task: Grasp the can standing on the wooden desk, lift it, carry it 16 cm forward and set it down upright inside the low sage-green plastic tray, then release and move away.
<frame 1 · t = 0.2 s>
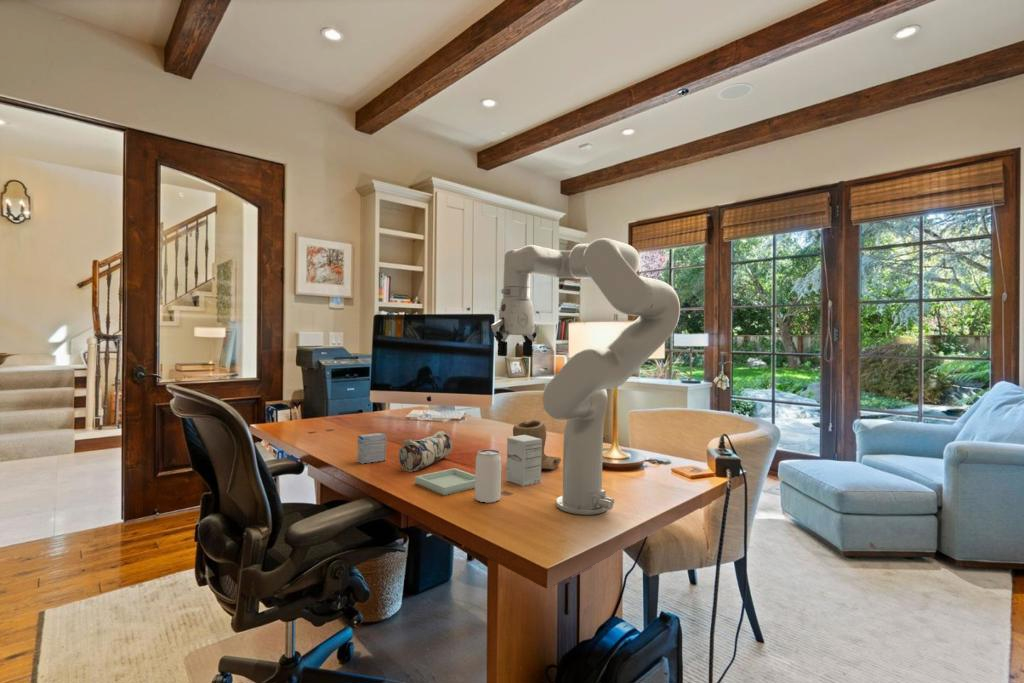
hand: (515, 355, 136), 36 cm above the table, tool pointing down, fingers open, 9 cm apart
medicine box: (371, 462, 158), on the table
supplement box: (523, 482, 139), on the table
tray: (449, 484, 134), on the table
brown boot: (534, 469, 154), on the table
can: (487, 500, 123), on the table
pencil case: (426, 464, 157), on the table
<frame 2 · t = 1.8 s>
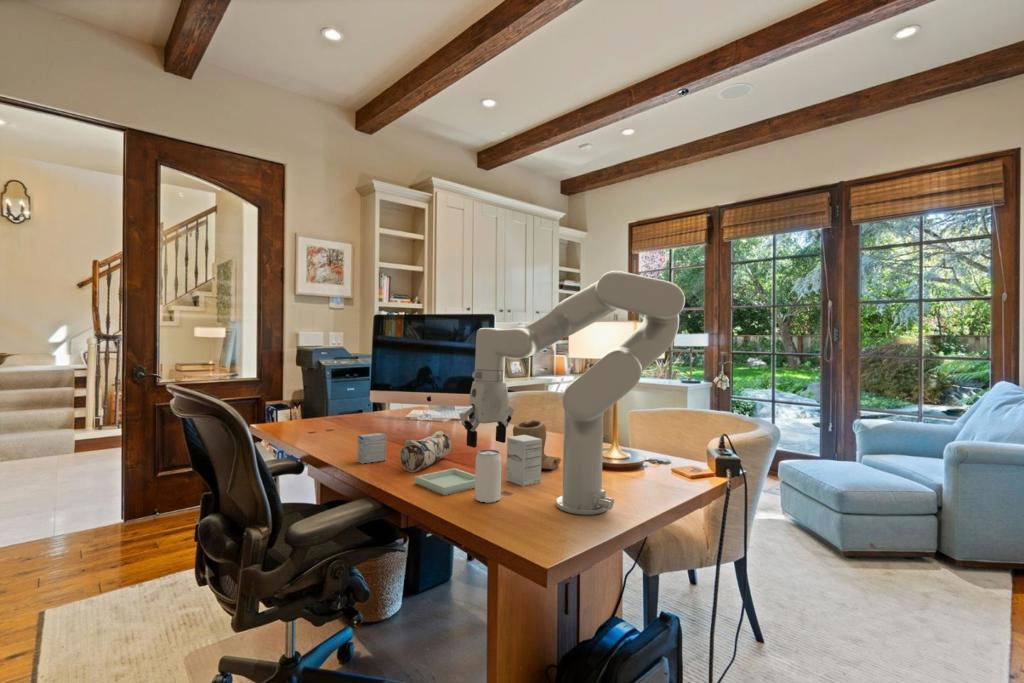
hand: (486, 444, 123), 14 cm above the table, tool pointing down, fingers open, 9 cm apart
nothing on the table moved.
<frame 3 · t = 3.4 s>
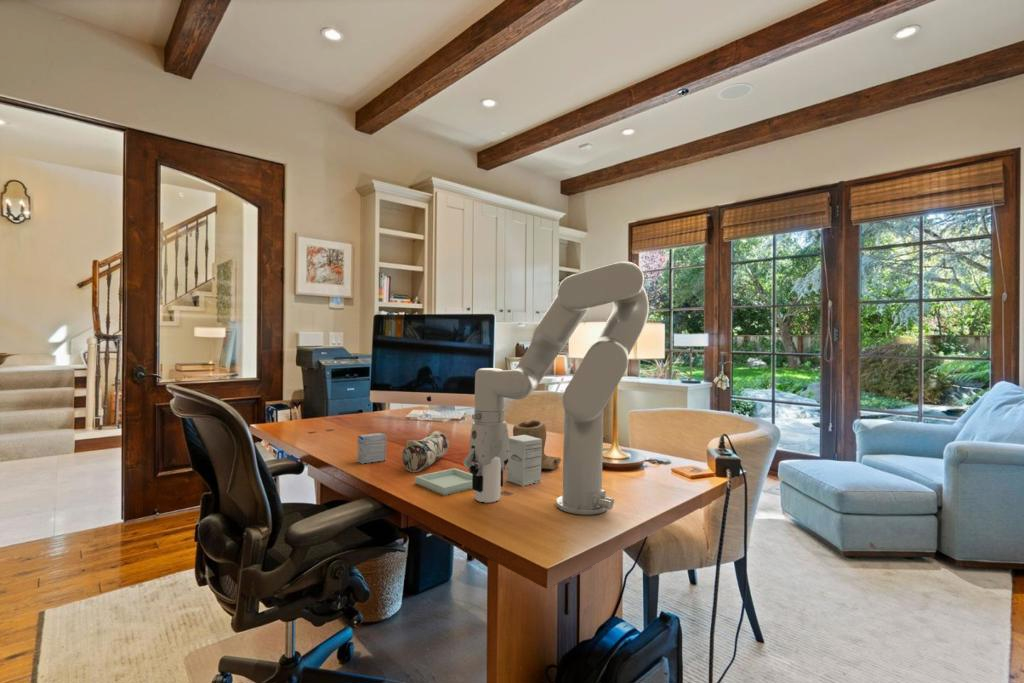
hand: (487, 487, 123), 3 cm above the table, tool pointing down, fingers closed on can, 6 cm apart
can: (487, 500, 123), on the table, touching gripper
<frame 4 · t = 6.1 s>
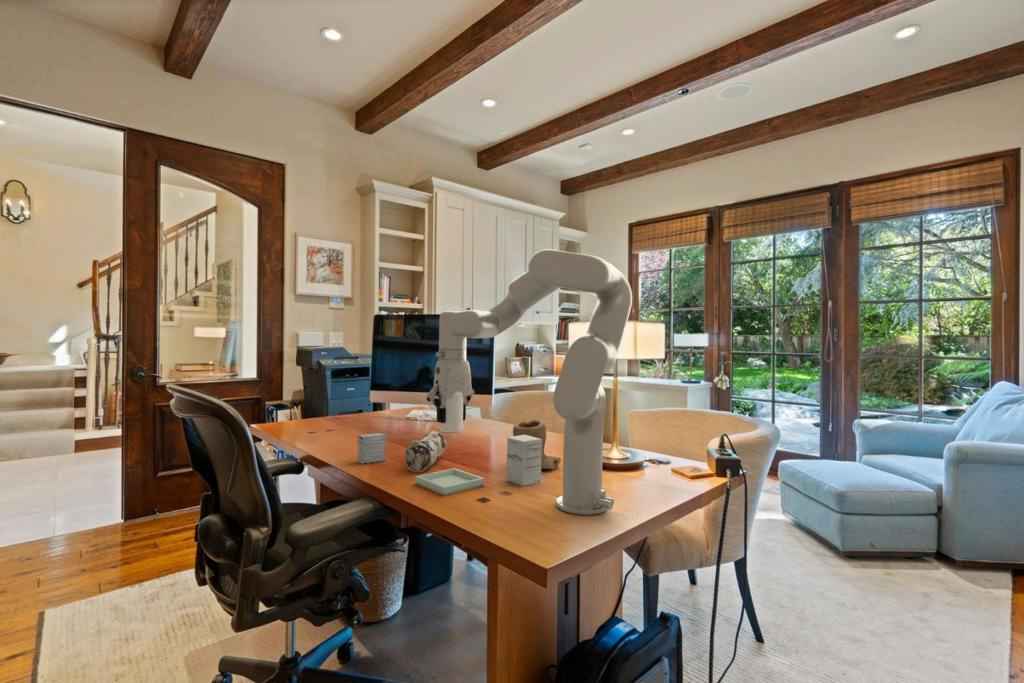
hand: (451, 420, 134), 18 cm above the table, tool pointing down, fingers closed on can, 6 cm apart
can: (450, 431, 134), point 15 cm above the table, touching gripper
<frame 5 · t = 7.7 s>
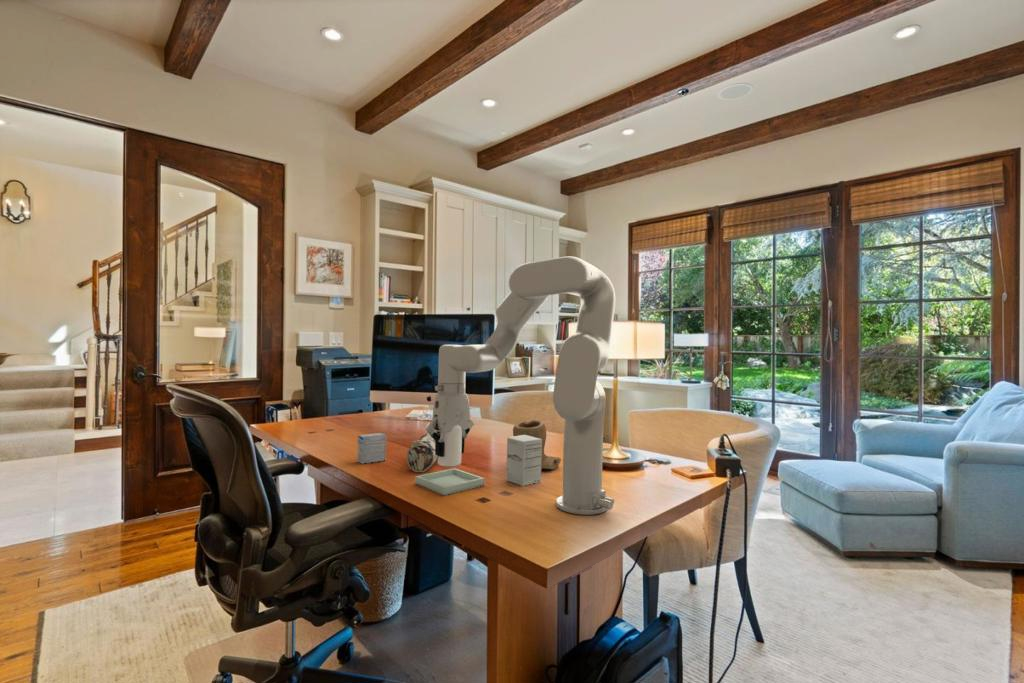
hand: (449, 453, 134), 9 cm above the table, tool pointing down, fingers closed on can, 6 cm apart
can: (449, 464, 134), point 6 cm above the table, touching gripper
when the fingers open (5 cm above the table, at t = 8.9 s): can drops 1 cm, resting on tray.
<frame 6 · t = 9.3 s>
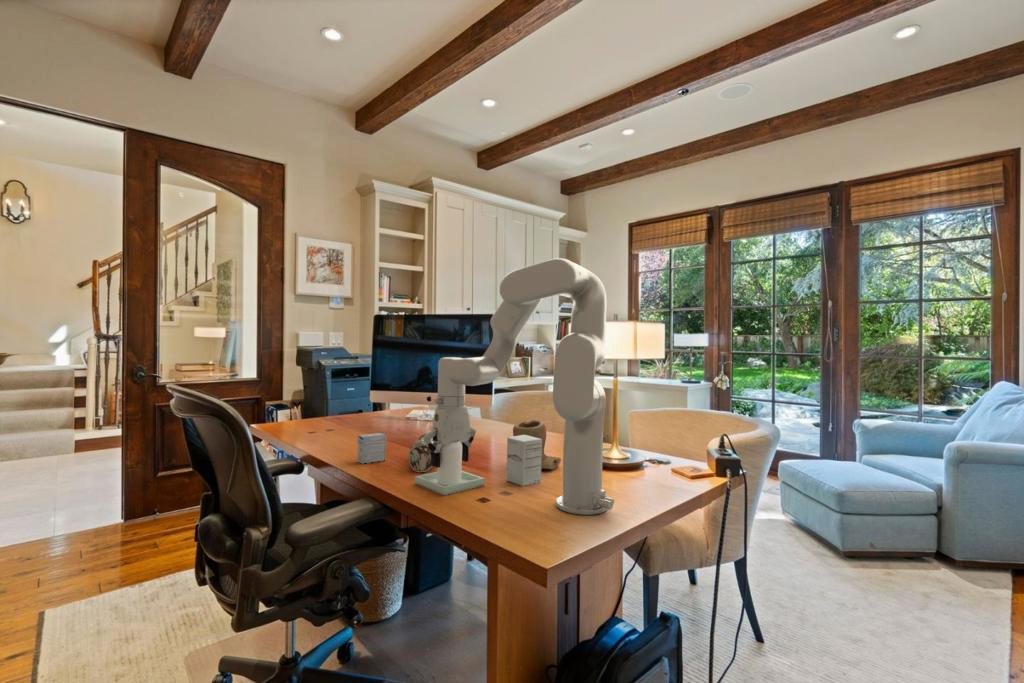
hand: (450, 463, 134), 6 cm above the table, tool pointing down, fingers open, 9 cm apart
can: (449, 483, 134), resting on tray
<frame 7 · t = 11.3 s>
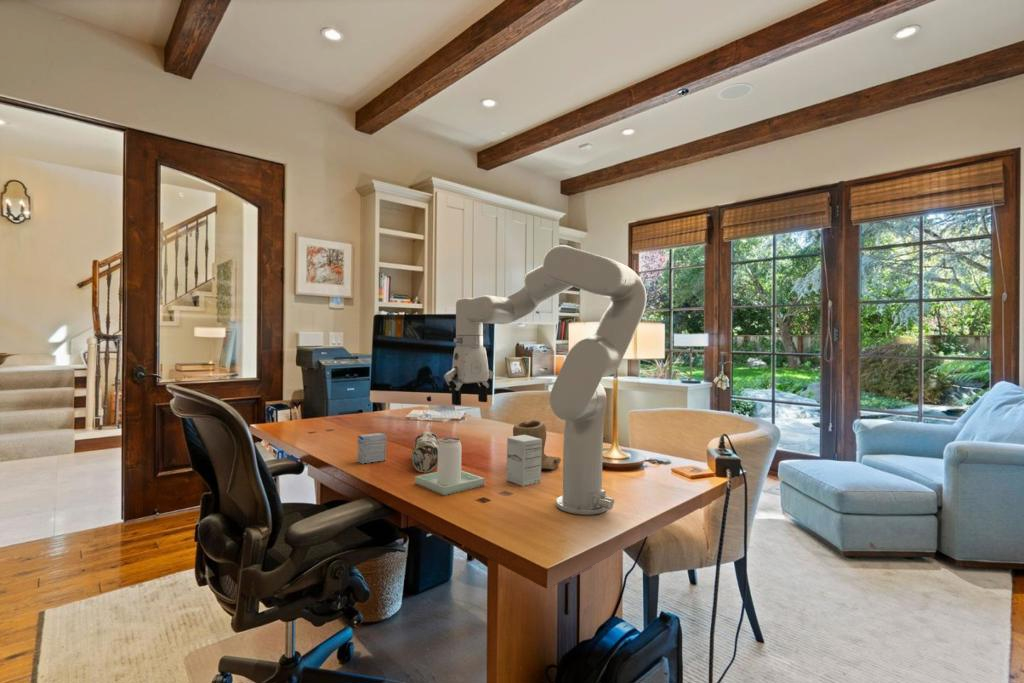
hand: (470, 403, 136), 22 cm above the table, tool pointing down, fingers open, 9 cm apart
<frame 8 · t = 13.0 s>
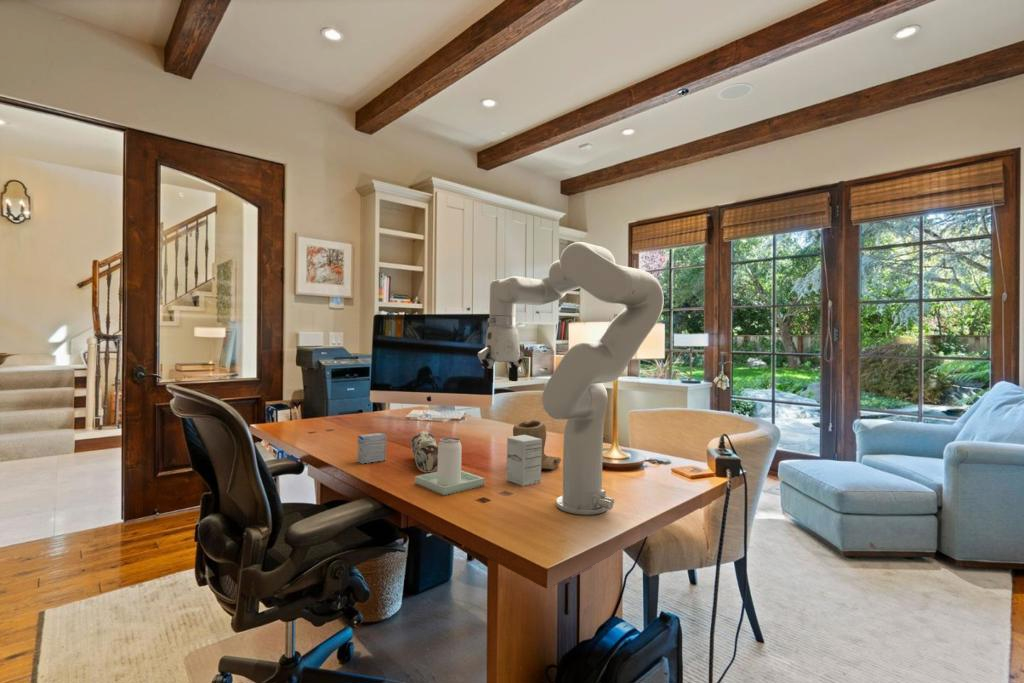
hand: (501, 381, 141), 28 cm above the table, tool pointing down, fingers open, 9 cm apart
at the end: can inside the target area on the tray (0.6 cm from its centre), point 0.4 cm above the tray's base; can tilted 0°; the gripper is holding nothing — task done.
